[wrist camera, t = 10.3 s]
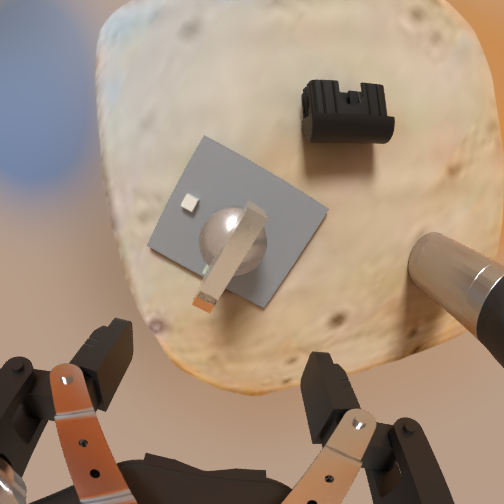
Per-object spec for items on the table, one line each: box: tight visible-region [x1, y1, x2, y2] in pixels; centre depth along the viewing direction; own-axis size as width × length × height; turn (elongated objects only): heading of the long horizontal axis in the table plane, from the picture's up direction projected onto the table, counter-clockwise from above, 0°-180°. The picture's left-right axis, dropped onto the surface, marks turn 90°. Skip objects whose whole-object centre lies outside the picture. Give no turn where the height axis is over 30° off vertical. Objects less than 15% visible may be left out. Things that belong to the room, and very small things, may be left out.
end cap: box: [302, 80, 395, 144], centre depth 29 cm, size 10×7×7 cm
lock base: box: [147, 135, 329, 308], centre depth 33 cm, size 18×16×6 cm
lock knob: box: [192, 200, 268, 313], centre depth 27 cm, size 10×7×7 cm
